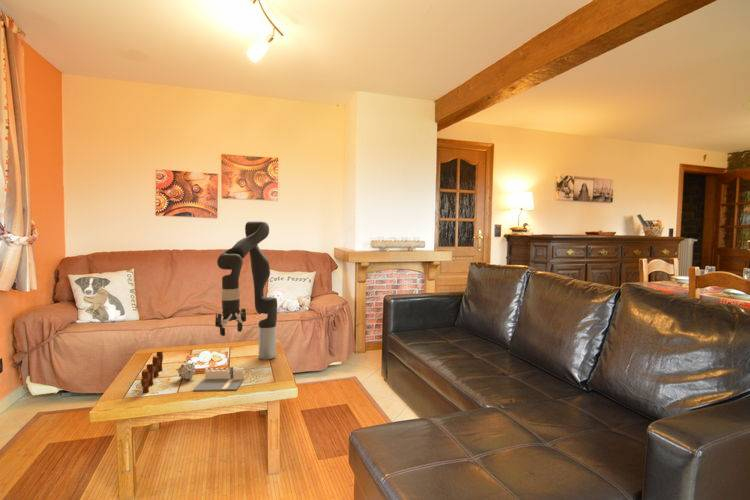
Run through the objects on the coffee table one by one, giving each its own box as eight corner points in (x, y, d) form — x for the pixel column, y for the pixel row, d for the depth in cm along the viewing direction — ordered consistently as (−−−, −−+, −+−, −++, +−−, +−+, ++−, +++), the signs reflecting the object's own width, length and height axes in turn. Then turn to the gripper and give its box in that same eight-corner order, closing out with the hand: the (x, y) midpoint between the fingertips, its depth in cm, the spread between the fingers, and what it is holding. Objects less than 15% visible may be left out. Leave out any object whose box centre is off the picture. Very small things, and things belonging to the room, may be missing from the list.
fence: (158, 368, 197) (158, 348, 196) (164, 367, 197) (164, 348, 197) (139, 396, 165) (139, 372, 164) (147, 395, 165) (146, 372, 165)
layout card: (203, 379, 182) (203, 378, 182) (244, 378, 184) (244, 377, 184) (193, 391, 169) (192, 389, 169) (236, 390, 171) (236, 388, 171)
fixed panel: (233, 379, 182) (233, 368, 181) (234, 378, 183) (234, 367, 183) (243, 379, 182) (243, 368, 182) (244, 378, 183) (243, 367, 183)
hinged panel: (233, 377, 183) (233, 366, 183) (232, 378, 182) (232, 367, 181) (205, 377, 182) (205, 367, 182) (204, 378, 181) (204, 368, 180)
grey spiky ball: (191, 386, 184) (205, 368, 185) (178, 386, 176) (192, 368, 177) (181, 373, 188) (195, 356, 189) (168, 373, 180) (181, 355, 181)
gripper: (239, 294, 184) (239, 328, 185) (211, 299, 172) (212, 335, 174) (249, 296, 180) (249, 331, 181) (221, 301, 168) (222, 338, 169)
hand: (231, 333), depth 177 cm, fingers open, 8 cm apart
